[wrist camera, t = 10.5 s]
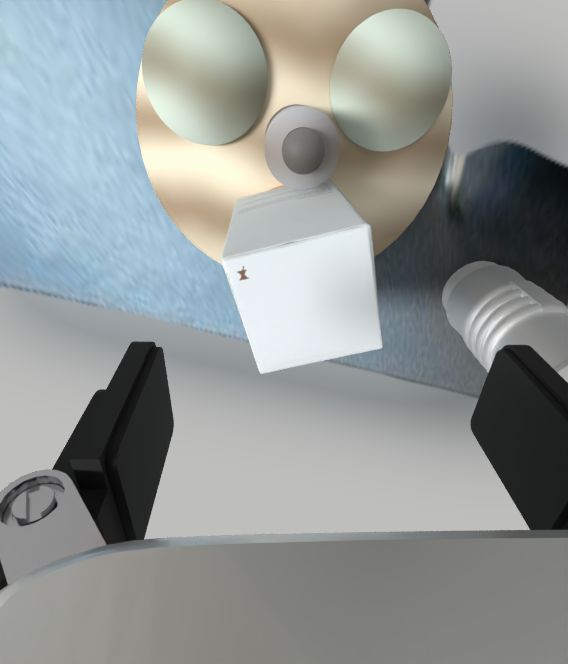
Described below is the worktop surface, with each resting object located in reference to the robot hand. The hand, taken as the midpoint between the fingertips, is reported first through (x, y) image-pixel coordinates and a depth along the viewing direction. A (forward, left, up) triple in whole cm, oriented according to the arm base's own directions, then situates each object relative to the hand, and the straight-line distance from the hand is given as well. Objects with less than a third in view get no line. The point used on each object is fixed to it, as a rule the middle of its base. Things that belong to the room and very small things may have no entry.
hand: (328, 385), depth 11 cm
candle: (+8, +17, -24) cm, 30 cm away
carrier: (-4, 0, -24) cm, 24 cm away
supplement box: (+2, 0, -22) cm, 22 cm away
